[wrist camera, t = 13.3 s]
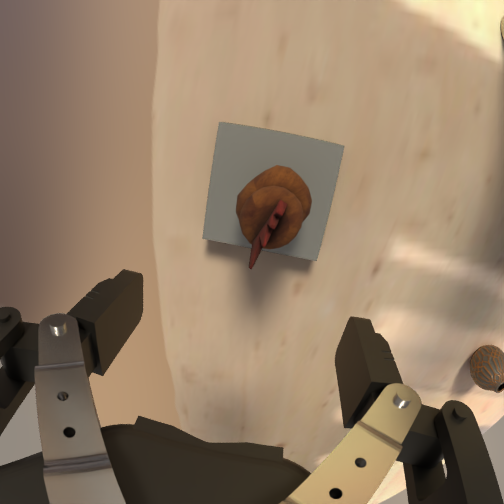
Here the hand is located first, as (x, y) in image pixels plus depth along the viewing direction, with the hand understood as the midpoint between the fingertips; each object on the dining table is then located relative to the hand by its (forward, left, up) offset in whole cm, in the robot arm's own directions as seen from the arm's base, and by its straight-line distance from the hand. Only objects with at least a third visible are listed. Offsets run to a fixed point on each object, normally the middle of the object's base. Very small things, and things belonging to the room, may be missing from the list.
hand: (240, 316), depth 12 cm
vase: (-41, +19, -26) cm, 52 cm away
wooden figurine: (-1, 0, -23) cm, 23 cm away
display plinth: (0, 0, -26) cm, 26 cm away
